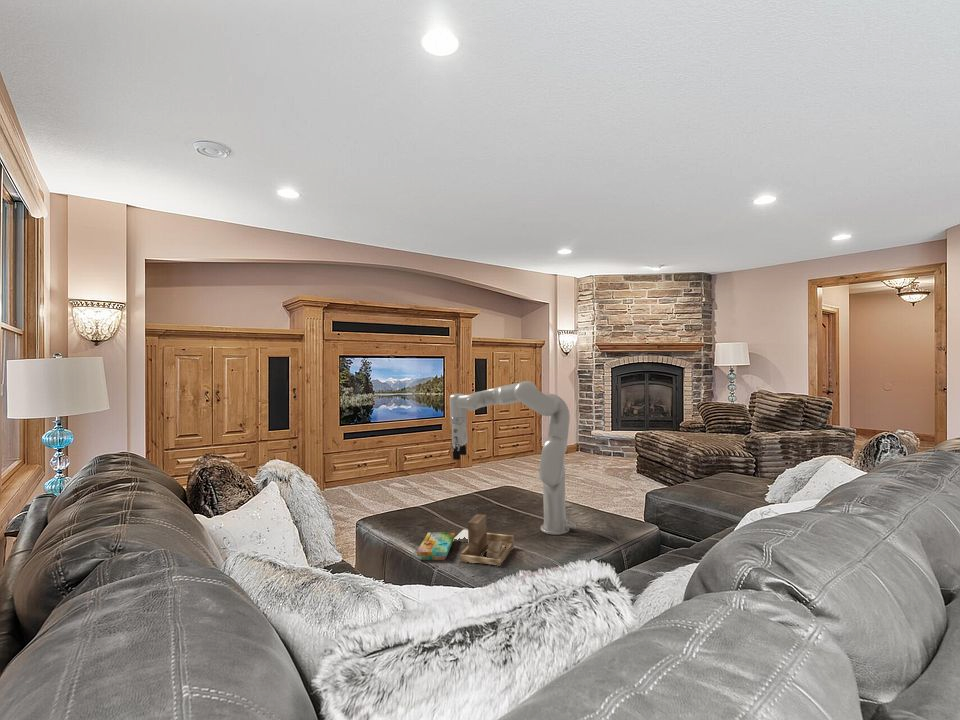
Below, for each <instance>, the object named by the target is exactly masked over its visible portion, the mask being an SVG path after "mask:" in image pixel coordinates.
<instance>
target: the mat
mask: <svg viewBox="0 0 960 720" xmlns="http://www.w3.org/2000/svg"><path fill="white" fill-rule="evenodd" d="M464 537H465V538H466V539H468V529H462V530H461V531H460V532H459V533H458V534H457V535H455V538H454V539H457V540H458V539H459V538H460V539H463V538H464ZM453 542H454V540H453Z"/></svg>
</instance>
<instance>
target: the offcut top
mask: <svg viewBox="0 0 960 720" xmlns="http://www.w3.org/2000/svg"><path fill="white" fill-rule="evenodd" d="M501 547H502V542H500V541H492V542H491V544H490V546H489V553H499V552H500V550H501Z"/></svg>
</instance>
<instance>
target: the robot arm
mask: <svg viewBox="0 0 960 720" xmlns="http://www.w3.org/2000/svg"><path fill="white" fill-rule="evenodd" d="M516 403H521V404H523V405H524V406H527V407H528V408H529V409H531V410H532V411H534V412H535V413H537V414H539V415H541V416H545V417H549V418H550V419H549V426H548V434H547V439H546V440H545V442H544V443H543V445H542V449H541V453H540V456H541V457H540V461H539V463H540V464H539V469H538V470H539V471H538V476H539V479H540V481H541V482H542V488H543V490H542V493H543V494H542V495H543V496H542V497H543V498H542V500H543V501H542V503H543V524H541V525H540V531H541V532H543V533H544V534H547V535H555V536H557V535H564V534H567V533H569V532H570V529H576V528H577V527H576V526H577V525H576V523H575V522H573V521H572V522H571V521H568V518H566V467H565V464H564V459H565V454H566V452H567V451H568V450H567V448H568V438H569V430H570V429H569V427H570V409H569V406H568V404H567V403H566V401H565V400H564V399H563V398H561V397H560V396H558V395H557V394H555V393H554V394H553V393H548V394H545V393H543V392H542V391H539V390H538V388H537V386H536V384H535V383H534V382H533V381H530V380H525V381H520V382H515V383H510V384H505V385H501V386H498V387H495V388H490V389H485V390H481V391H475V392H472V393H470V394H464V393H452V394H450V396H449V413H450V416H449V417H450V419H449V421H450V425H451V444H452V459H453V460H455V461H459V460H461V456H466V455H467V444H468V441H469V440H468V428H467V424H468V421H467V420H468V419H467V417H468V416H467V411H470V412H473V411H476V410H478V409H481V408H485V407H488V406H495V405H499V406H500V405H501V406H505V405H512V404H516Z"/></svg>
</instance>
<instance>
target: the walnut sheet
mask: <svg viewBox="0 0 960 720" xmlns="http://www.w3.org/2000/svg"><path fill="white" fill-rule="evenodd" d="M467 530H468V543H467V544H468V545H469V555H471V556H480V555H481V553H482V552H483V551H484V550H485V549H486V548H487V547H488V546H487V533H488V531H487V514H481V513H479V514H478V513H477V514H475V515H474V516H473V517H472V518H471V519H470V520H469V521H468V522H467ZM468 545H467V546H468Z"/></svg>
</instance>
